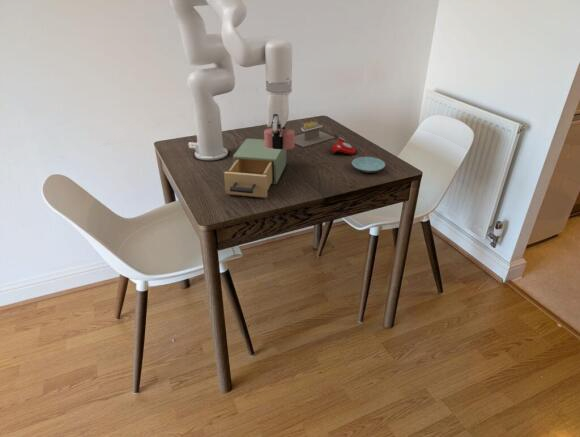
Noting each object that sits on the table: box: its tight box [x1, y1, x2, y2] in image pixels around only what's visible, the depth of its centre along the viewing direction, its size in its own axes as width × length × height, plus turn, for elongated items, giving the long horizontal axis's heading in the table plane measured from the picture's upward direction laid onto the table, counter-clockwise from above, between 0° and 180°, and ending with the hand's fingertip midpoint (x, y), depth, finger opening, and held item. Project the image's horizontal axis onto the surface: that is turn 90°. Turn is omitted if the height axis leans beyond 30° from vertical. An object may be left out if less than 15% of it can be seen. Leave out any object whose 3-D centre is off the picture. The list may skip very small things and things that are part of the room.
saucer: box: [351, 156, 386, 174], centre depth 153 cm, size 12×12×2 cm
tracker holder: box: [330, 136, 356, 155], centre depth 167 cm, size 12×4×10 cm
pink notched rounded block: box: [263, 127, 296, 150], centre depth 132 cm, size 10×4×5 cm, turn 80°
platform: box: [295, 121, 336, 148], centre depth 178 cm, size 12×18×7 cm, turn 128°
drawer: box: [223, 159, 274, 198], centre depth 137 cm, size 20×13×7 cm, turn 169°
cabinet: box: [232, 137, 287, 185], centre depth 149 cm, size 17×15×9 cm
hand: (279, 144), depth 133 cm, fingers closed on pink notched rounded block, 4 cm apart
